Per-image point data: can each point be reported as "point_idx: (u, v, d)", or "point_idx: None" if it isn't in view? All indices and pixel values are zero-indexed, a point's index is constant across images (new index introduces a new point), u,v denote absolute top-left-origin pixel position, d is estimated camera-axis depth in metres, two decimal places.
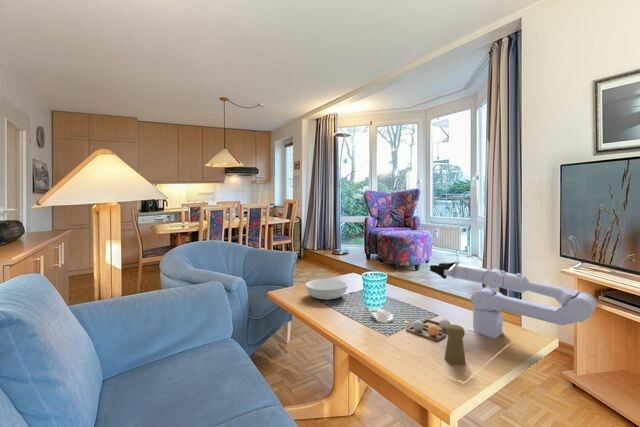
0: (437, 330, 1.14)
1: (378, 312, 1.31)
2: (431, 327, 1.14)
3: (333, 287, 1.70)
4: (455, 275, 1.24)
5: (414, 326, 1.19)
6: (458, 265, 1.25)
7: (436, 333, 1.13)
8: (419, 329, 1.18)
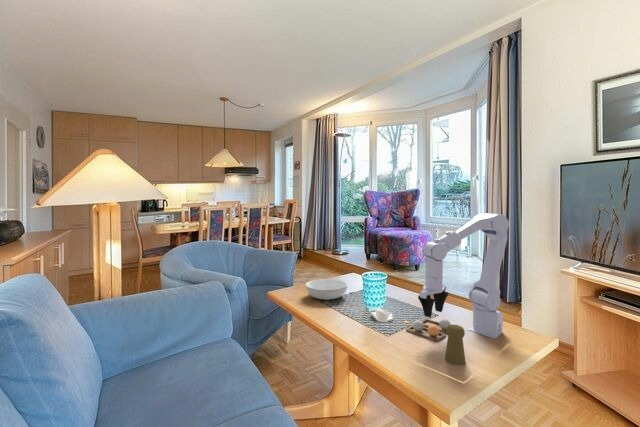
0: (437, 330, 1.14)
1: (378, 312, 1.32)
2: (431, 327, 1.14)
3: (333, 287, 1.70)
4: (433, 289, 1.12)
5: (414, 326, 1.19)
6: None
7: (436, 333, 1.13)
8: (419, 329, 1.18)
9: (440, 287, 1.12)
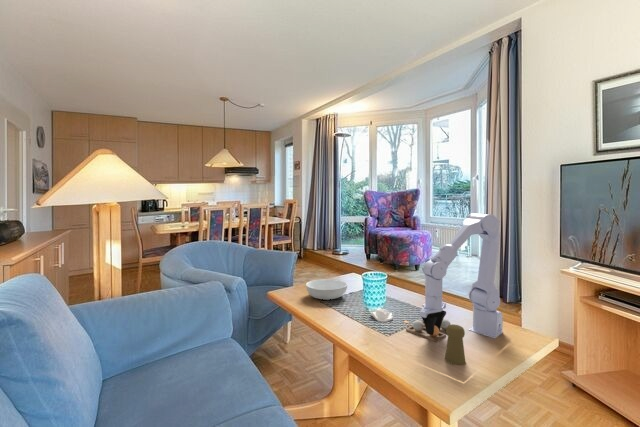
0: (437, 330, 1.14)
1: (378, 311, 1.32)
2: None
3: (333, 287, 1.70)
4: (433, 308, 1.12)
5: (414, 326, 1.19)
6: (425, 303, 1.16)
7: (436, 333, 1.13)
8: (419, 329, 1.18)
9: (440, 306, 1.12)
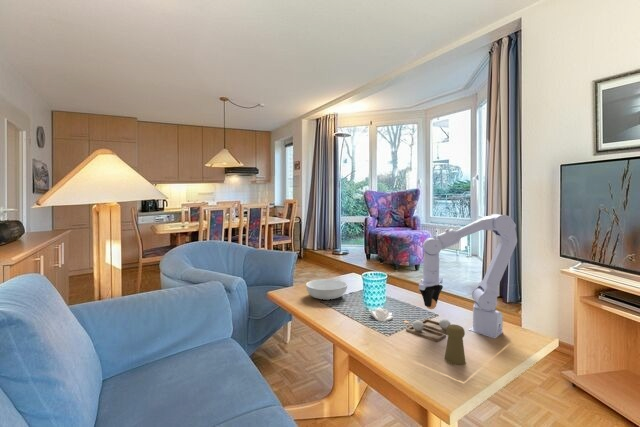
0: (434, 303, 1.22)
1: (377, 311, 1.33)
2: None
3: (333, 287, 1.70)
4: (431, 281, 1.20)
5: (414, 326, 1.19)
6: (423, 278, 1.24)
7: (433, 305, 1.21)
8: (419, 329, 1.18)
9: (437, 280, 1.20)
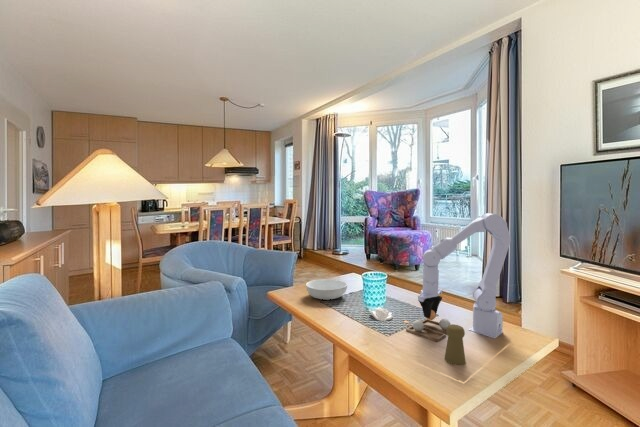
0: (433, 314, 1.24)
1: (377, 310, 1.33)
2: None
3: (333, 287, 1.70)
4: (430, 293, 1.22)
5: (414, 326, 1.19)
6: None
7: (432, 316, 1.23)
8: (419, 329, 1.18)
9: (436, 291, 1.22)
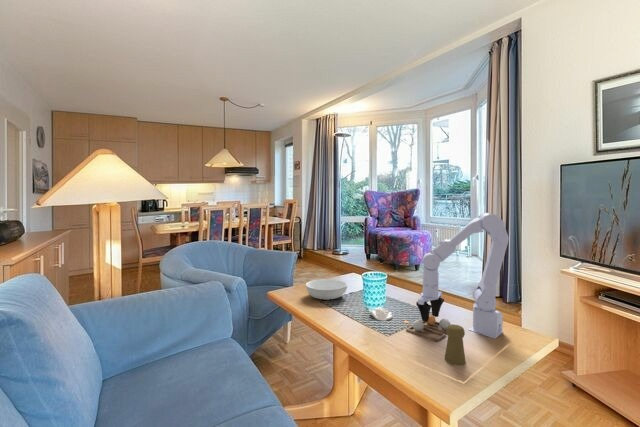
0: (433, 319, 1.24)
1: (377, 310, 1.33)
2: None
3: (333, 287, 1.70)
4: (430, 296, 1.22)
5: (414, 326, 1.19)
6: None
7: (432, 322, 1.23)
8: (419, 329, 1.18)
9: (436, 294, 1.22)
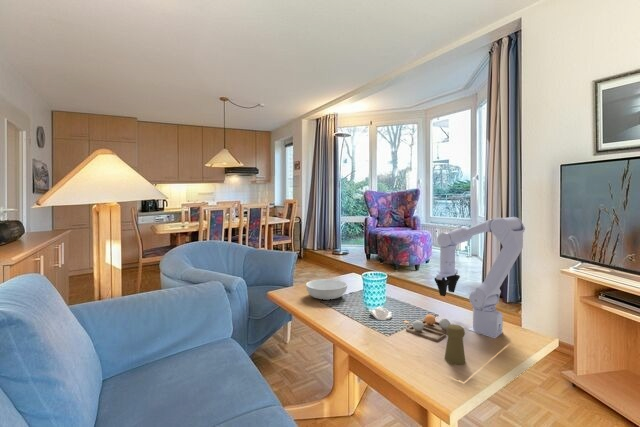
0: (433, 319, 1.24)
1: (377, 310, 1.34)
2: (428, 316, 1.25)
3: (333, 287, 1.70)
4: (447, 272, 1.31)
5: (414, 326, 1.19)
6: (440, 269, 1.34)
7: (432, 322, 1.23)
8: (419, 329, 1.18)
9: (453, 270, 1.31)
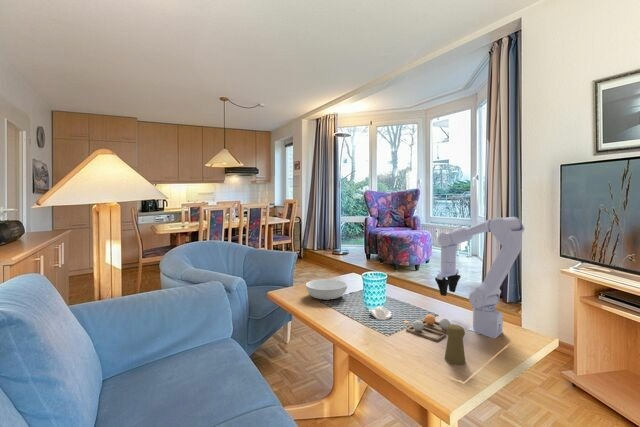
0: (433, 319, 1.24)
1: (377, 309, 1.35)
2: (428, 316, 1.25)
3: (333, 287, 1.70)
4: (448, 272, 1.31)
5: (414, 326, 1.19)
6: (441, 269, 1.35)
7: (432, 322, 1.23)
8: (419, 329, 1.18)
9: (454, 270, 1.31)
